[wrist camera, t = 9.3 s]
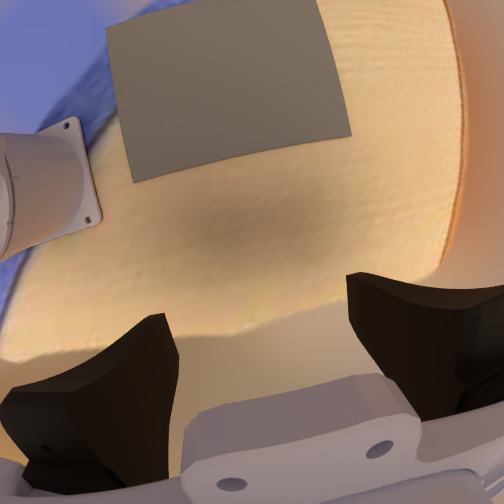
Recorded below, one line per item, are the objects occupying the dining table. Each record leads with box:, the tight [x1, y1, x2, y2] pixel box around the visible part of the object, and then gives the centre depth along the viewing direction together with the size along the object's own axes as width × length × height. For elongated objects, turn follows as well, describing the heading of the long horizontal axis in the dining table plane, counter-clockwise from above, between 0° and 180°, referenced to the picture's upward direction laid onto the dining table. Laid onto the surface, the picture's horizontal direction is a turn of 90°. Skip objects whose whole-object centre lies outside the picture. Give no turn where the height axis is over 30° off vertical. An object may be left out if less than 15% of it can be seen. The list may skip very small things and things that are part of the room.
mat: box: [106, 0, 352, 183], centre depth 18 cm, size 15×12×1 cm
